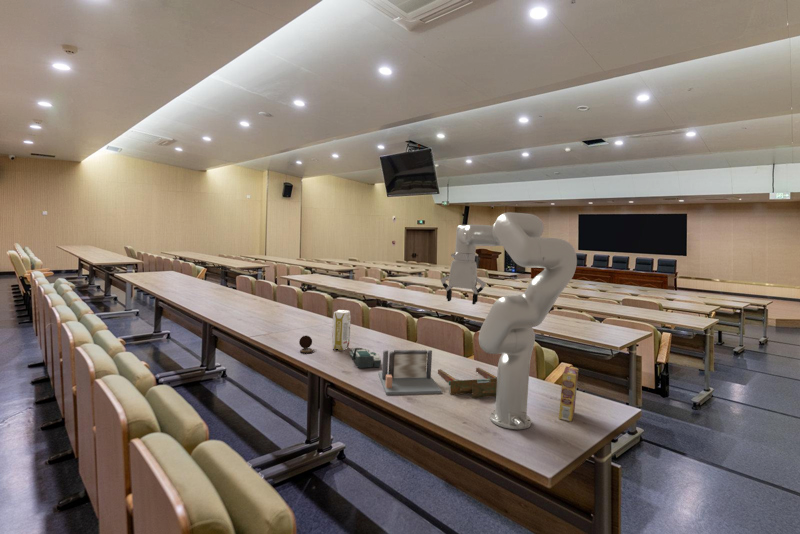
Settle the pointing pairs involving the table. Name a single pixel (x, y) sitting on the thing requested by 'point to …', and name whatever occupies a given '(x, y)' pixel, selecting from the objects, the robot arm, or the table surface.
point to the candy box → (568, 393)
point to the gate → (407, 363)
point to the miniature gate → (472, 384)
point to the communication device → (365, 358)
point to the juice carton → (341, 329)
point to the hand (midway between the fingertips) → (461, 302)
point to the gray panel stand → (408, 380)
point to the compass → (306, 344)
